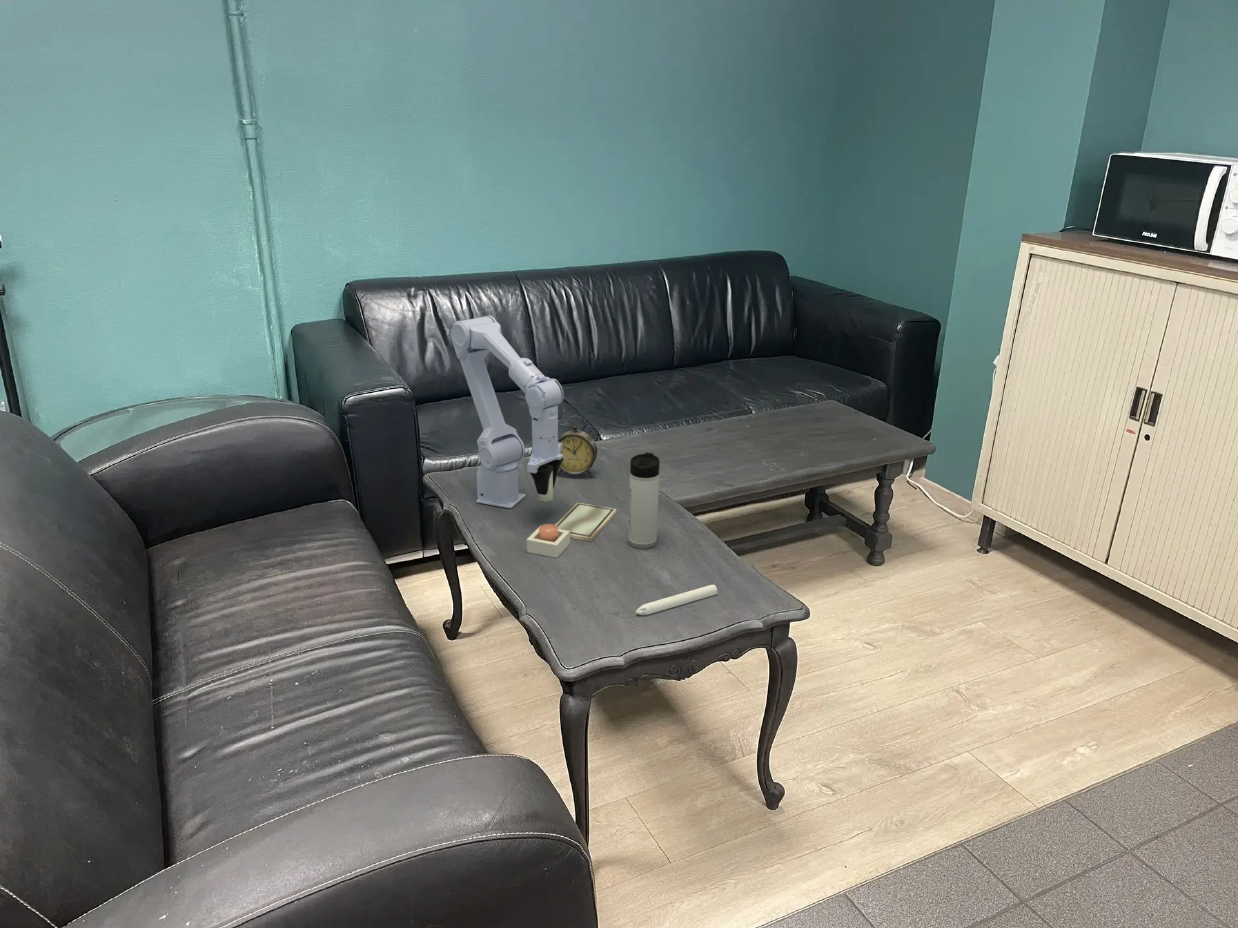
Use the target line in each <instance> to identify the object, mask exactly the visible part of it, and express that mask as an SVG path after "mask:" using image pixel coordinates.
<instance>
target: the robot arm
mask: <svg viewBox="0 0 1238 928" xmlns="http://www.w3.org/2000/svg"><path fill="white" fill-rule="evenodd" d="M450 331H451V332H450V335H449V336H450V340H451V342H452V347H454V348H453V349H454V352H455V354H456V357H457V359H458V360H459V362H460V365H461V369H462V371H463V374H464V376H465V379H466V382H467V383H466V384H467V386H468V388H469V391H470V394H471V398H472V399H473V403H474V406H475V410H476V413H477V415H478V418H479V420H480V424H481V427H482V432H481V433H480V436H479V437H478V439H477V440H476V444H477V447H478V457H479V460H480V463H481V464H480V465H479V467H478V468H477V473H476V490H477V491H476V493H477V495H476V496H477V499H476V500H475V501H476V503H477V504H482V505H489V506H493V507H494V506H495V507H500V508H505V509H513V507H515V506H516V505H517V504H518V503H519V502H521V501H522V500H523V499H524V498H525V497H526V494H525V493H519V492H520V491H519V468H518V467H519V465H521V460H522V459H523V458H524V457H525V454H526V453H525V452H526V450H525V443H524V442H523V440H522V439H521V438H520V436H519V434H518V431H517V429H516V428H515V427H513V426H511V425H509V424H507V423H506V422H505V419H504V416H503V413H502V410H501V407H500V404H499V401H498V398H497V394H496V392H495V389H494V386H493V384H492V381H491V378H490V374H489V371H488V368H487V365H486V362H485V358H486V355H488V353H489V352H490V353H491V354H492V355H494V356H495V357H496V358H497V359H498V360H499V361H500V362H502V364H503V365H505V367H507V368H508V376H509V378H510V379H511V380H512V381H513V382H514V383H515V385H517V386H518V387H519V389H520V390H521V391H522V392H523V393H524V394H525V396H524V397H525V398H524V399H525V401H526V404H527V405H528V411H529V415H530V417H531V436H532V437H531V439H532V440H531V445H532V447H531V449H532V450H531V451H532V452H531V454H530V457H529V462H528V463H527V464H526V465H527V467H526V468H527V469H526V470H527V471H526V472H527V473H529V474H530V476H531V477H532V480H533V482H534V486H535V489H536V492H537V493H536V494H538V495H539V494H542V495H546V494H547V492H548V486H549V479H550V475H551V472H552V470H553V489H554V488H555V485H556V480H557V475H558V473H559V471H560V470H559V469H560V468H559V467H560V465H561V463H562V461H563V454H560V452H561V451H562V443H560V442H558V439H559V405H560V404H562V402H563V401H564V397H565V395H564V394H565V393H564V390H563V387H562V385H561V383H560V382H559V380H558V379H555V378H550V377H549V376H545V375H544V374H543V373H542V372H541V371H540V370H539V369H538V367H536V365H535V364H534V363H533V361H532V360H531V359H529V358H528V357H521V356H519V355H518V352H516V350H515V349H514V348H513V347H512V346H511V344H510V343H509V342H508V340H507V339H506V338H505V337H504V335H503V334H502V326H501V324H500V323H499V322H498V321H497V320H496V318H495V317H494V316H492V315H489V314H488V315H484V316H481V317H476V318H475V317H474V318H471V319H466V320H464V319H463V320H457V321H455V322H454V323H453V324H452V328H451V330H450ZM499 438H500V439H499ZM493 440H494V441H493ZM545 464H551V465H552V466H553V468H551V467H547V465H545Z"/></svg>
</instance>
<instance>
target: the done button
mask: <svg viewBox="0 0 1238 928" xmlns="http://www.w3.org/2000/svg"><path fill="white" fill-rule="evenodd" d="M538 528H539V540H544V541H550V542H555V541H556V540H557V539H558V527H557V526H556V524H552V523H545V524H541V525H539V527H538Z"/></svg>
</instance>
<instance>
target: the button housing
mask: <svg viewBox="0 0 1238 928" xmlns="http://www.w3.org/2000/svg"><path fill="white" fill-rule="evenodd" d="M570 544H571V538H570V531H566V530H561V529H558V539H557V540H556V541H555V542H550V541H544V540H539V527H538V528H536V530H535V531H533V532H532V534H531V535H529V537H527V539H526V552H527V553H530V554H535V555H541V556H545V557H549V558H556V559H558V557H560V556H561V554H562V553H563V552H564V551H565V550H566V549H567V547H568V546H569V545H570Z"/></svg>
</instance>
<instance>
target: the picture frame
mask: <svg viewBox="0 0 1238 928" xmlns="http://www.w3.org/2000/svg"><path fill="white" fill-rule="evenodd" d="M617 511H618V510H617V508H613V507H605V506H600V505H593V504H588V503H583V502H576V503H575V504H574V505H573V506H572V507H571V508H570V509H569V510H568V511H567V512H566V513H565V514H564V515H563V517H561V518H560V520H559V521H557V522H556V523H555V525H556V526H557V527H558V529H561V530H566V531H570V539H575V540H580V541H585V542H592V541H594V539H595V538H596V537H597V536H598V535H599V533H600V532H601V531H602V530H603V529H604V528H605V527H606V525H607V524H608V523H609V522H610V520H612V519H613V517H614V516H615V515H616V513H617Z"/></svg>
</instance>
